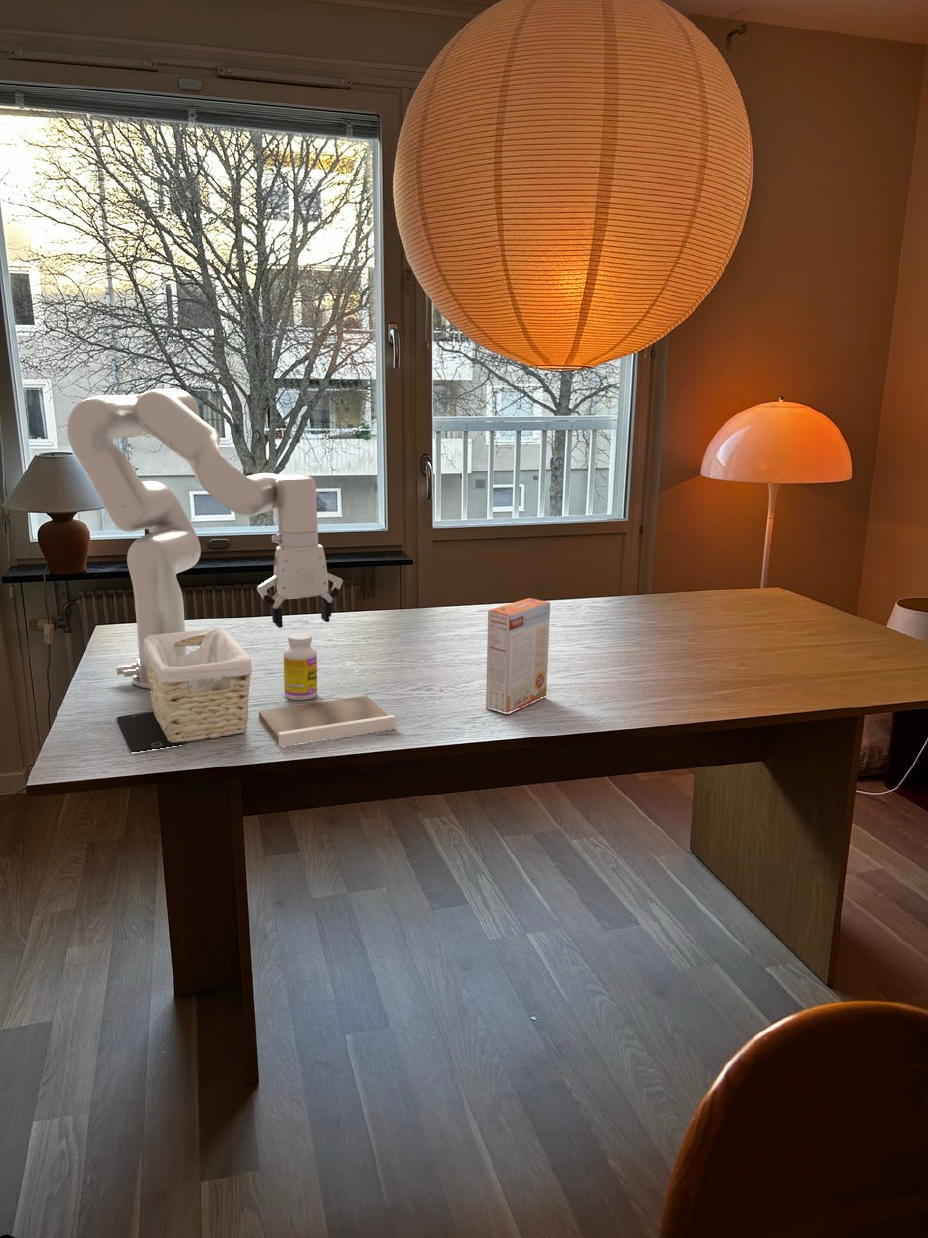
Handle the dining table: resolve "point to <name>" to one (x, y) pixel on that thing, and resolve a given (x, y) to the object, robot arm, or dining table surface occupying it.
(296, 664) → the supplement bottle
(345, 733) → the rail
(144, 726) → the cell phone
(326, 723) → the shelf board
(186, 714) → the storage basket
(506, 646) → the cracker box
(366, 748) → the dining table surface
